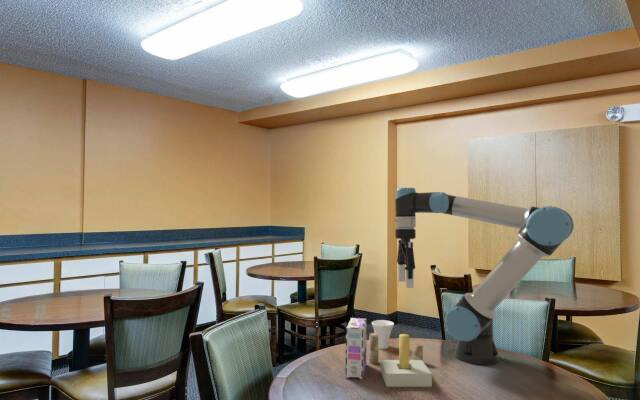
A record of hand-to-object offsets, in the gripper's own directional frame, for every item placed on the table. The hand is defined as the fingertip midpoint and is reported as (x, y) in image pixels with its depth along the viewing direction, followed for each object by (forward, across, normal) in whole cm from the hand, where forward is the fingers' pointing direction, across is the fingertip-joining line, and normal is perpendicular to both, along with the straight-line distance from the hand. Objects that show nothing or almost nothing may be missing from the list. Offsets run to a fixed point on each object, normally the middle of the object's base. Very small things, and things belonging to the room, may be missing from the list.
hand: (405, 284), depth 157 cm
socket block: (+27, +22, -5) cm, 35 cm away
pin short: (+27, +7, +3) cm, 28 cm away
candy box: (+27, +15, -20) cm, 37 cm away
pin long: (+27, +22, -5) cm, 35 cm away
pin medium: (+27, +7, -13) cm, 31 cm away
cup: (+27, -10, -7) cm, 30 cm away
